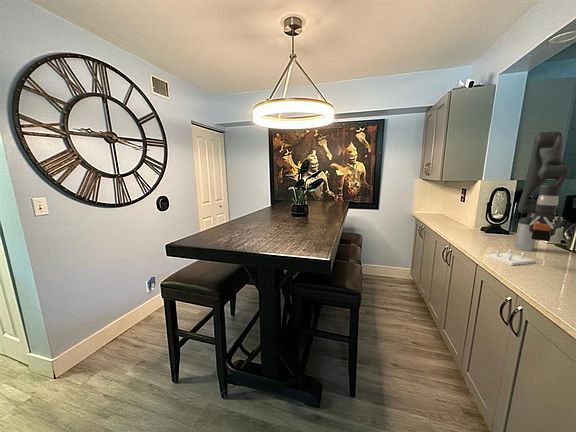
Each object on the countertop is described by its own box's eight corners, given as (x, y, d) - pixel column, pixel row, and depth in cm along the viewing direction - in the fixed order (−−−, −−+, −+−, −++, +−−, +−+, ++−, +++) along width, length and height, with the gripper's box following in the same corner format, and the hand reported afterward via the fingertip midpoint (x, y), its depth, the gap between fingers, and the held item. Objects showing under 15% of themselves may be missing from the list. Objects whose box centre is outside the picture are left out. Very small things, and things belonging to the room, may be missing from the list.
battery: (549, 241, 127) (553, 223, 125) (531, 239, 132) (534, 221, 130) (548, 240, 130) (552, 221, 128) (531, 237, 135) (534, 220, 133)
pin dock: (507, 254, 150) (508, 246, 149) (534, 262, 137) (536, 254, 136) (485, 257, 146) (486, 249, 145) (511, 265, 132) (513, 256, 131)
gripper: (570, 205, 122) (563, 236, 125) (535, 202, 135) (529, 230, 138) (560, 206, 120) (553, 237, 123) (525, 202, 133) (520, 231, 136)
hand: (541, 233), depth 130 cm, fingers closed on battery, 8 cm apart
